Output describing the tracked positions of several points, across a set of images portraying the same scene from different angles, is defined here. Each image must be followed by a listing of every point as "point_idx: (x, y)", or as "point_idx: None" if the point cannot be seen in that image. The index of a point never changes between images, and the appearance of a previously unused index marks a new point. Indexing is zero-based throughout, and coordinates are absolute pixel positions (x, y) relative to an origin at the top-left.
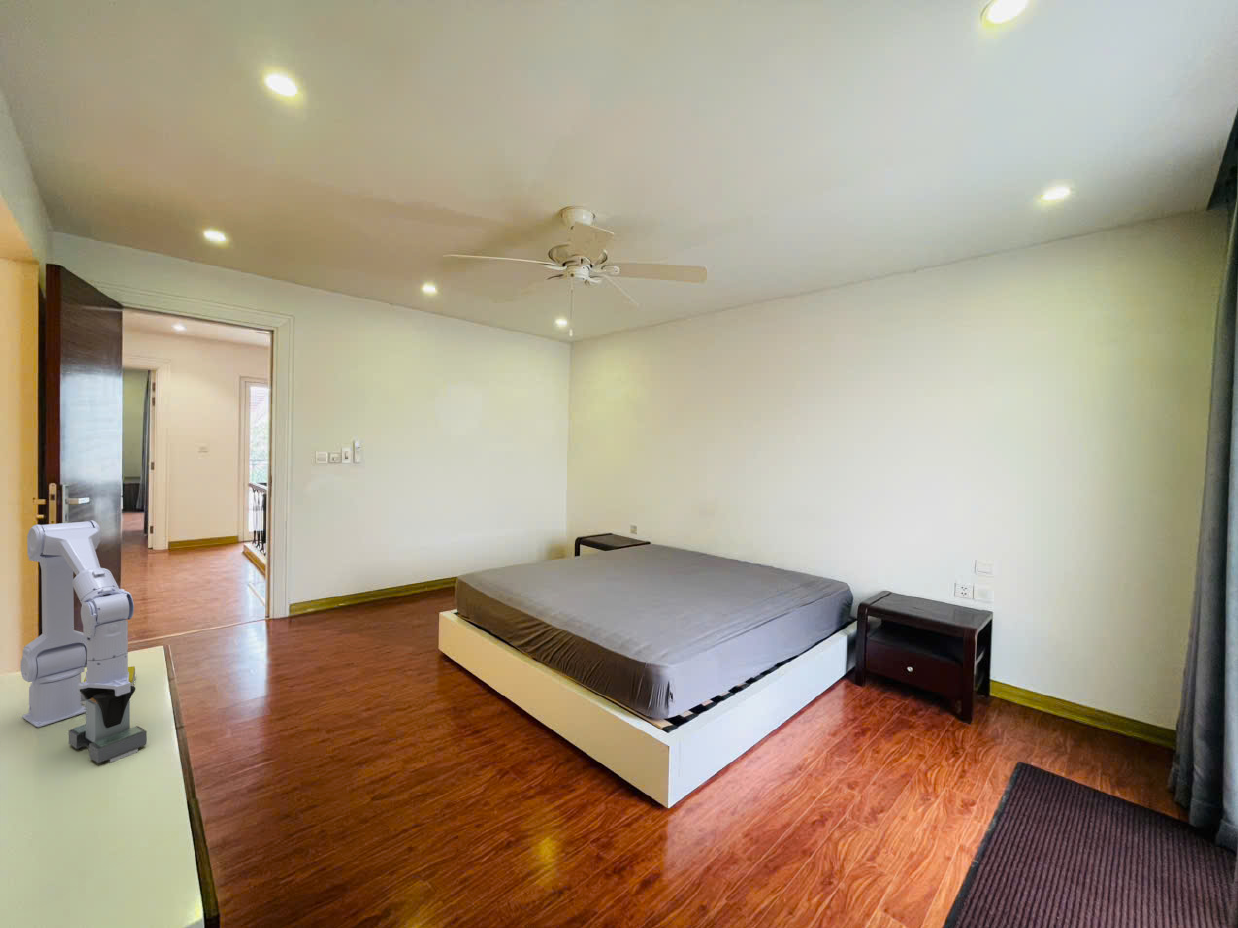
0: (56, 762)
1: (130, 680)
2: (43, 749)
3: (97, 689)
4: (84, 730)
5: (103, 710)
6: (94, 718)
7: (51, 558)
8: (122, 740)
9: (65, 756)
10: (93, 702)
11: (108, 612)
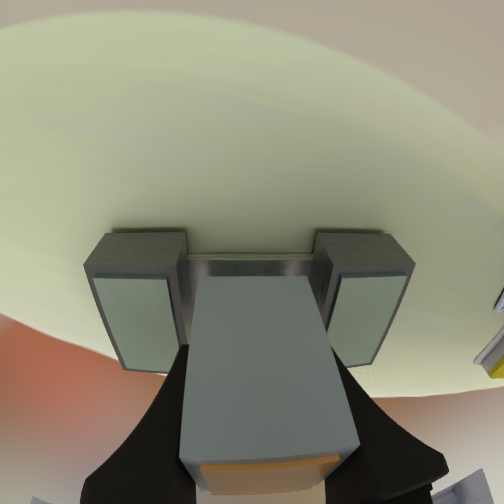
0: (295, 164)
1: (491, 376)
2: (440, 187)
3: (355, 499)
4: (344, 293)
5: (137, 429)
6: (200, 374)
7: None
8: (105, 323)
9: (317, 197)
10: (257, 462)
11: None
